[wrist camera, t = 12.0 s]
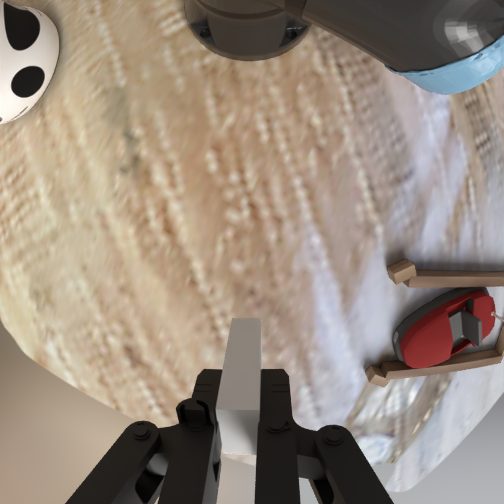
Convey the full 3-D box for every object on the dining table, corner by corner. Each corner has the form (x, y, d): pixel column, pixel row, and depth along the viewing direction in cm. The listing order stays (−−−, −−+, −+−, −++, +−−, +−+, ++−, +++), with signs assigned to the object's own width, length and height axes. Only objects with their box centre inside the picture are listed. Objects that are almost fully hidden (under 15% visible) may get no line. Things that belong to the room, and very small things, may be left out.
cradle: (388, 258, 39) (395, 264, 37) (523, 262, 39) (532, 267, 36) (363, 378, 44) (367, 388, 42) (492, 362, 44) (499, 369, 42)
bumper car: (386, 319, 42) (414, 359, 32) (494, 263, 39) (534, 287, 30) (398, 369, 44) (421, 411, 35) (497, 315, 42) (531, 343, 32)
